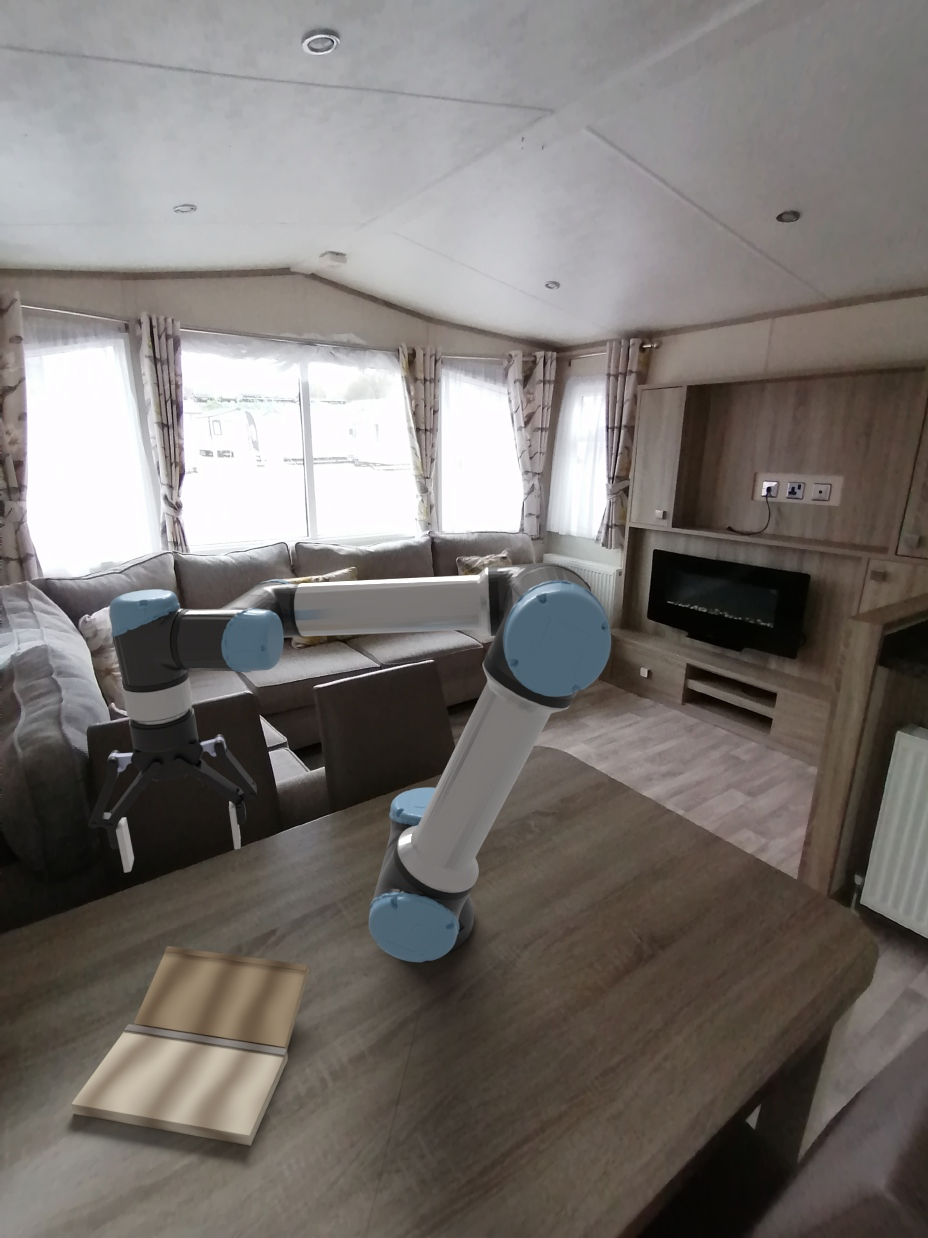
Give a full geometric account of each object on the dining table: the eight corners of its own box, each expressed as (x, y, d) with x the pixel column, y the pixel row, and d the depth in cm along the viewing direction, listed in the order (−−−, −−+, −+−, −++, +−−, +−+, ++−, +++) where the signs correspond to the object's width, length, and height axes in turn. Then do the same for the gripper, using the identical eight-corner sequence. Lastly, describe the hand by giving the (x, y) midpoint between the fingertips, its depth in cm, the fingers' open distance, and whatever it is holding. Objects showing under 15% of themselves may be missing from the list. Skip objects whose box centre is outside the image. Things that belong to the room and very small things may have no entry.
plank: (310, 968, 85) (307, 965, 84) (287, 1049, 79) (284, 1046, 78) (171, 949, 88) (167, 945, 87) (138, 1026, 82) (133, 1023, 80)
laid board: (287, 1059, 78) (286, 1049, 77) (250, 1146, 68) (249, 1134, 68) (130, 1034, 81) (128, 1024, 80) (73, 1114, 71) (70, 1102, 71)
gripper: (263, 687, 84) (278, 820, 91) (56, 715, 77) (87, 857, 83) (265, 709, 78) (281, 850, 84) (37, 741, 70) (73, 895, 76)
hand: (184, 854), depth 83 cm, fingers open, 13 cm apart
